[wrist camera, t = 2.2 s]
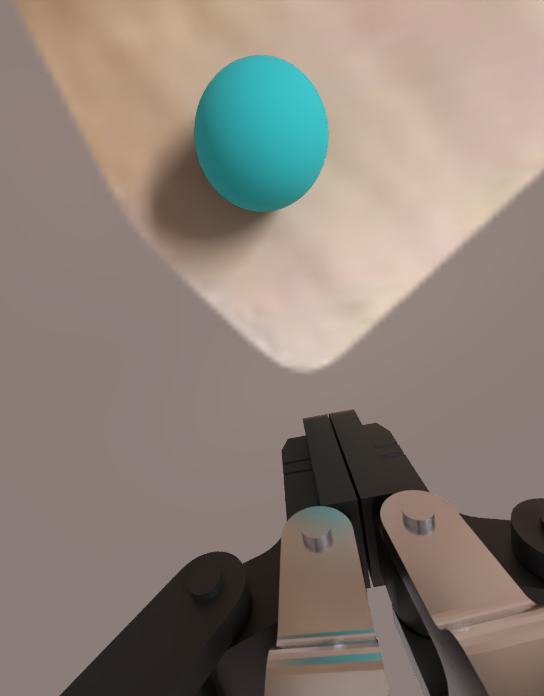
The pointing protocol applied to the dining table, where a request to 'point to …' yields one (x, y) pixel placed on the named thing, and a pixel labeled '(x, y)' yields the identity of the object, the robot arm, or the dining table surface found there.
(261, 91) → the ball
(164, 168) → the dining table surface
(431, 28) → the dining table surface
